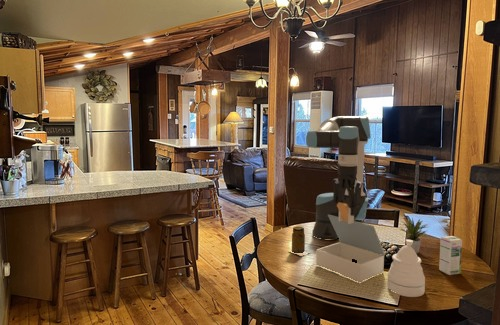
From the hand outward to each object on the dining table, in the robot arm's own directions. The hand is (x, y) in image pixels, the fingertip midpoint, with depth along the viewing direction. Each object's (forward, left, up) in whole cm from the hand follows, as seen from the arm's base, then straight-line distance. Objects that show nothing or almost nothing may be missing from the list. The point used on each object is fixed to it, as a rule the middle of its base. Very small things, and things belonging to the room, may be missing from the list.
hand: (345, 221), depth 151 cm
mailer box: (0, +3, -21) cm, 21 cm away
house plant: (+6, +44, -21) cm, 49 cm away
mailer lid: (0, +3, -3) cm, 5 cm away
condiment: (-27, +1, -21) cm, 34 cm away
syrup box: (+27, +34, -21) cm, 48 cm away
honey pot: (+24, +5, -21) cm, 33 cm away
